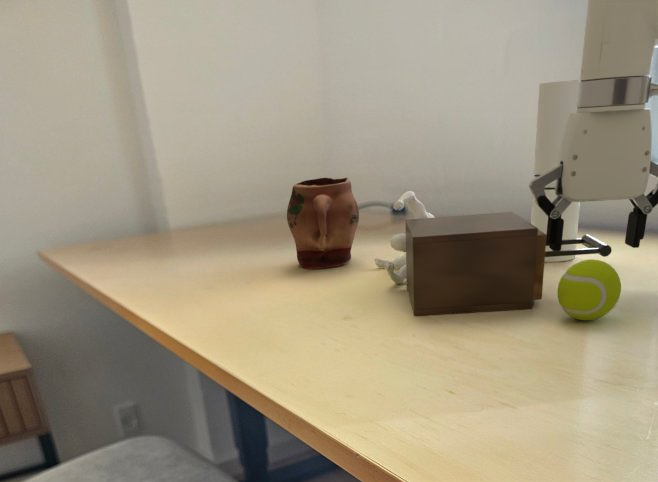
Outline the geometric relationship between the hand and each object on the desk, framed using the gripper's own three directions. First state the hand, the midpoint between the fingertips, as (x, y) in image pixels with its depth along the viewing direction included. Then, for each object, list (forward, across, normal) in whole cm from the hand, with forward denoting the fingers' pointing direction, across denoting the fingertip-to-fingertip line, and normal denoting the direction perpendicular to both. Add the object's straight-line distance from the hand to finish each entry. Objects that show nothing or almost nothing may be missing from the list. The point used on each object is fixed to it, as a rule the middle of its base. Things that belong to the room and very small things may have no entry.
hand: (593, 247), depth 84 cm
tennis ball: (+6, +4, +13) cm, 15 cm away
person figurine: (+6, +21, -16) cm, 27 cm away
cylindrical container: (+6, -1, -22) cm, 23 cm away
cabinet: (+6, +16, 0) cm, 17 cm away
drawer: (+5, +10, 0) cm, 11 cm away
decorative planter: (+6, +36, -28) cm, 46 cm away
